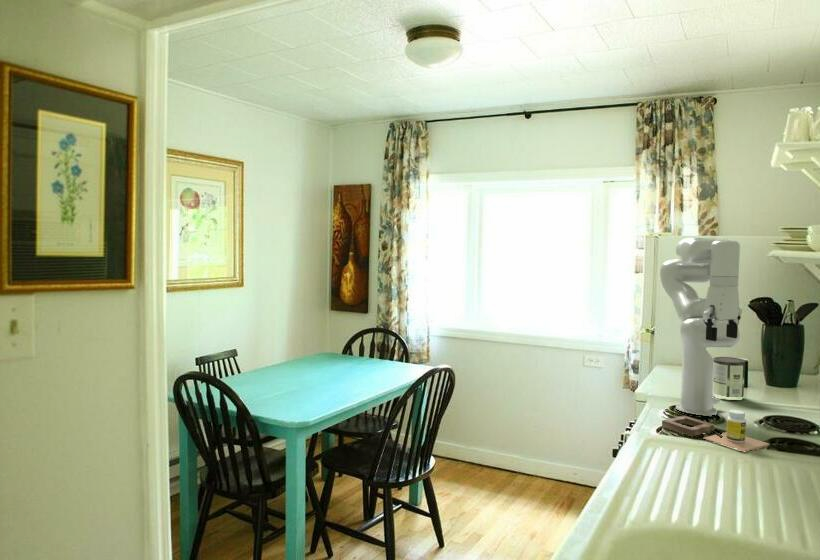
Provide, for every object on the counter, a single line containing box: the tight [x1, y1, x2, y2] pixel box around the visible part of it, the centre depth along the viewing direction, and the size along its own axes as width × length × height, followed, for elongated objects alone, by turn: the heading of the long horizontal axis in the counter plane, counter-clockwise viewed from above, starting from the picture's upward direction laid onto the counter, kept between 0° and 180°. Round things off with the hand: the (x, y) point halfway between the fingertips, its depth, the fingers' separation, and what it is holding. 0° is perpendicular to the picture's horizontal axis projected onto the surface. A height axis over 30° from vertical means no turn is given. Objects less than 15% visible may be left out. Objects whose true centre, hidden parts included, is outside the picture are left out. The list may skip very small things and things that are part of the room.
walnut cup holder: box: [661, 415, 716, 438], centre depth 182 cm, size 10×10×2 cm
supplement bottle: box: [726, 409, 747, 443], centre depth 171 cm, size 5×5×8 cm
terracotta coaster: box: [702, 431, 770, 452], centre depth 171 cm, size 12×12×1 cm
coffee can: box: [712, 356, 746, 397], centre depth 218 cm, size 10×10×14 cm
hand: (721, 338), depth 179 cm, fingers open, 9 cm apart
